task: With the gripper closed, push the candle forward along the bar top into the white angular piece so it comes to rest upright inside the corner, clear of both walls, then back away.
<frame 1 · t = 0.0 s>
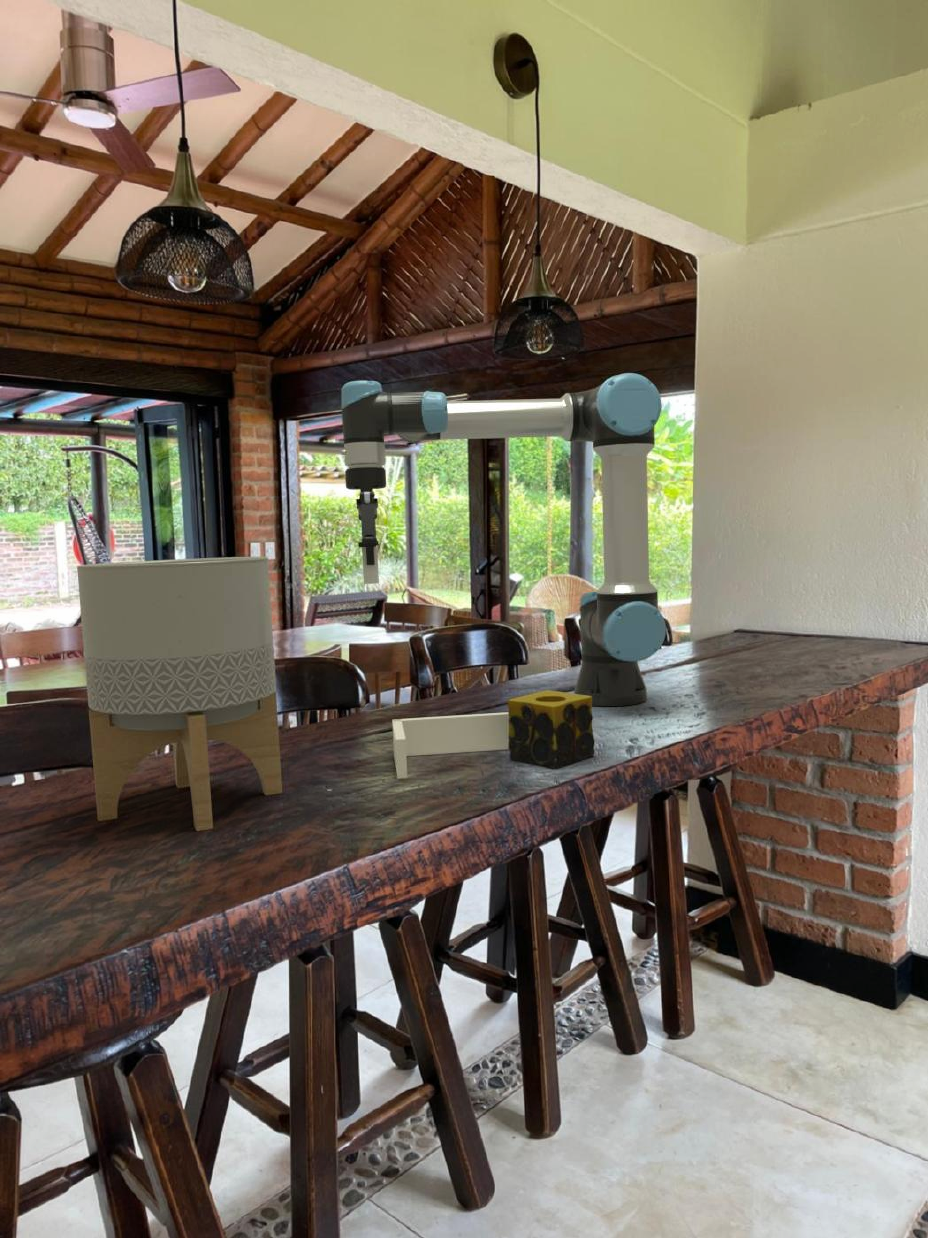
hand: (371, 581, 169), 28 cm above the bar counter, fingers open, 13 cm apart
white angular piece: (458, 761, 144), on the bar counter
planter: (193, 806, 126), on the bar counter
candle: (552, 759, 144), on the bar counter
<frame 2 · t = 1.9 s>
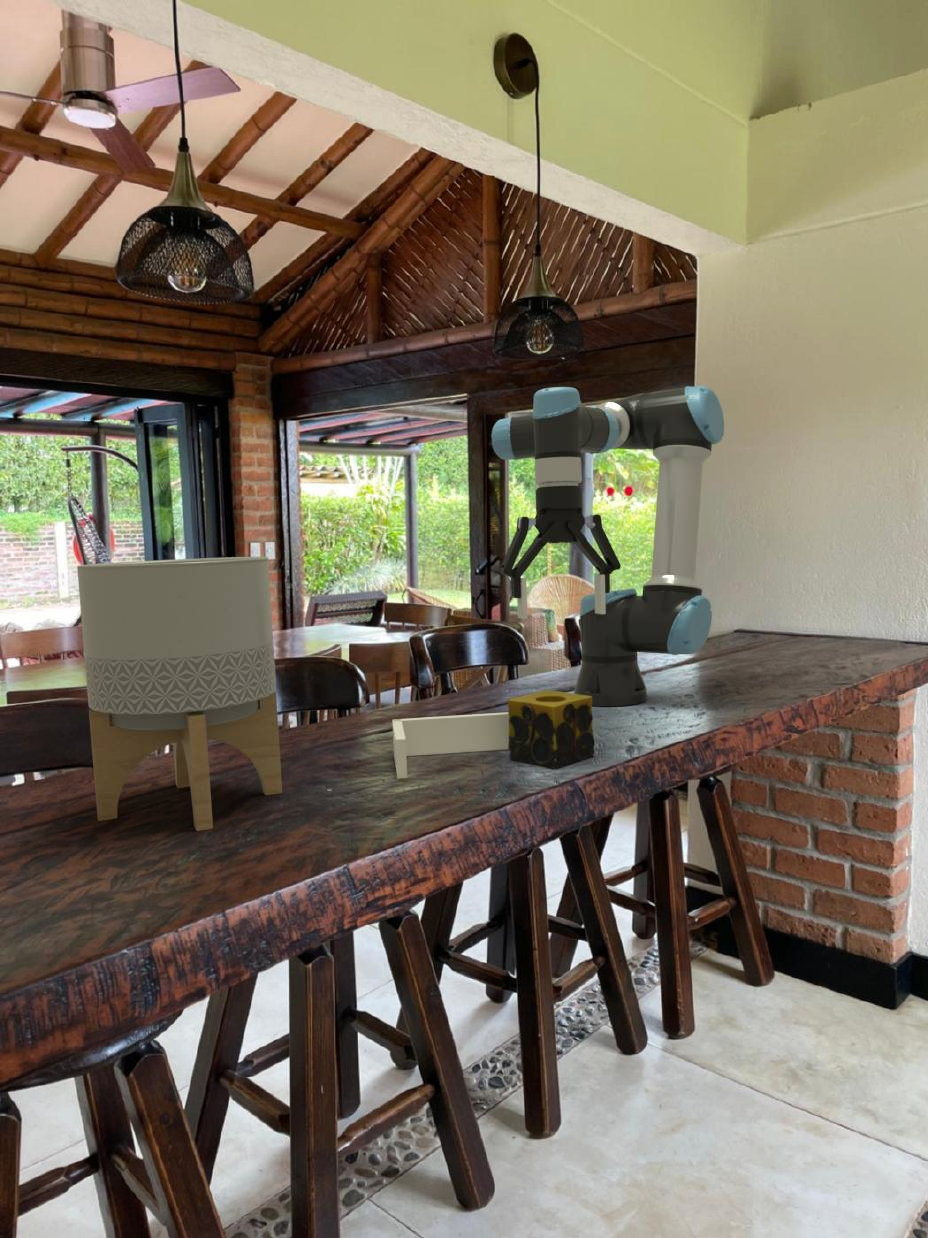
hand: (561, 616, 148), 22 cm above the bar counter, fingers open, 13 cm apart
nothing on the bar counter moved.
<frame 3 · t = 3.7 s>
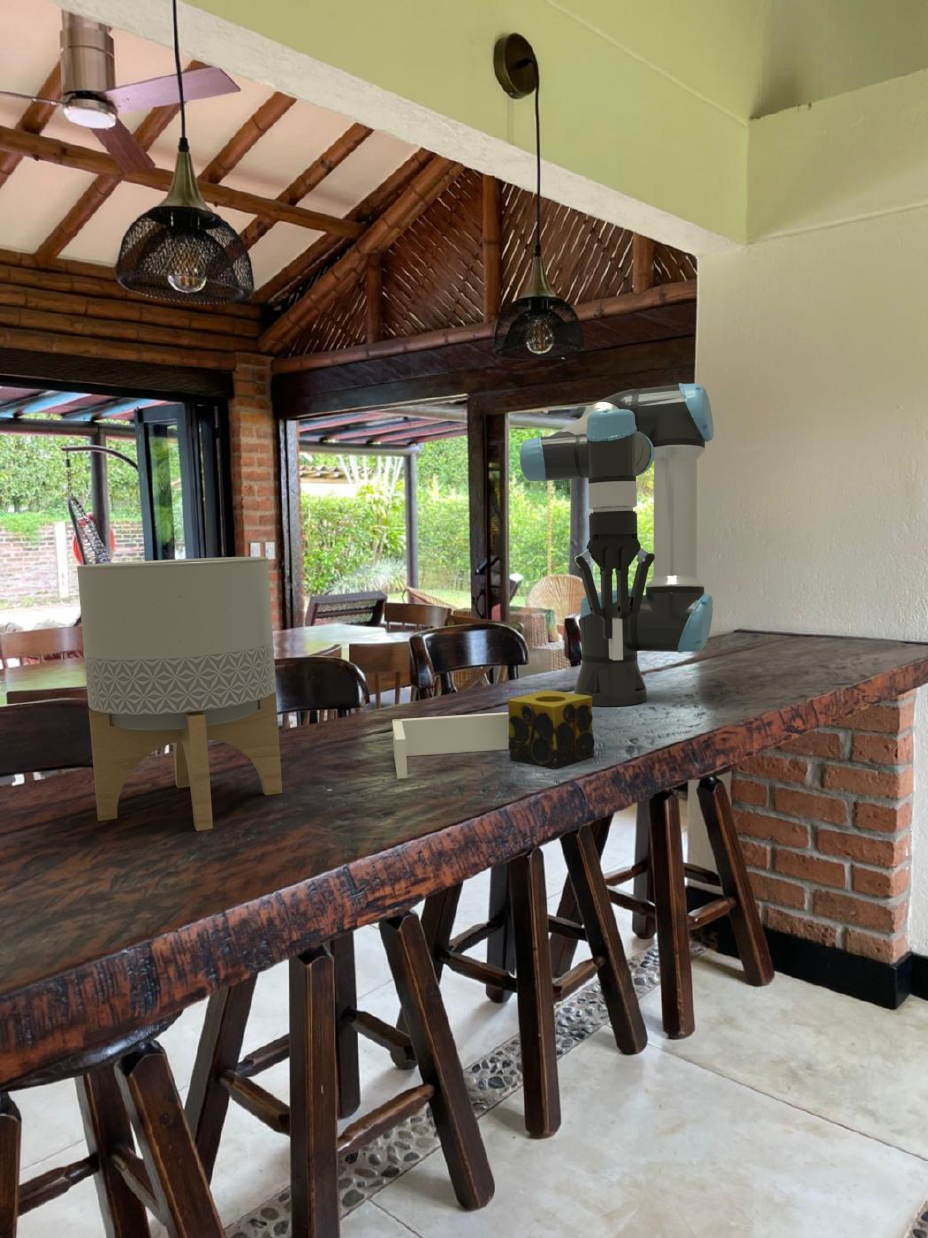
hand: (616, 658, 144), 15 cm above the bar counter, fingers closed
nothing on the bar counter moved.
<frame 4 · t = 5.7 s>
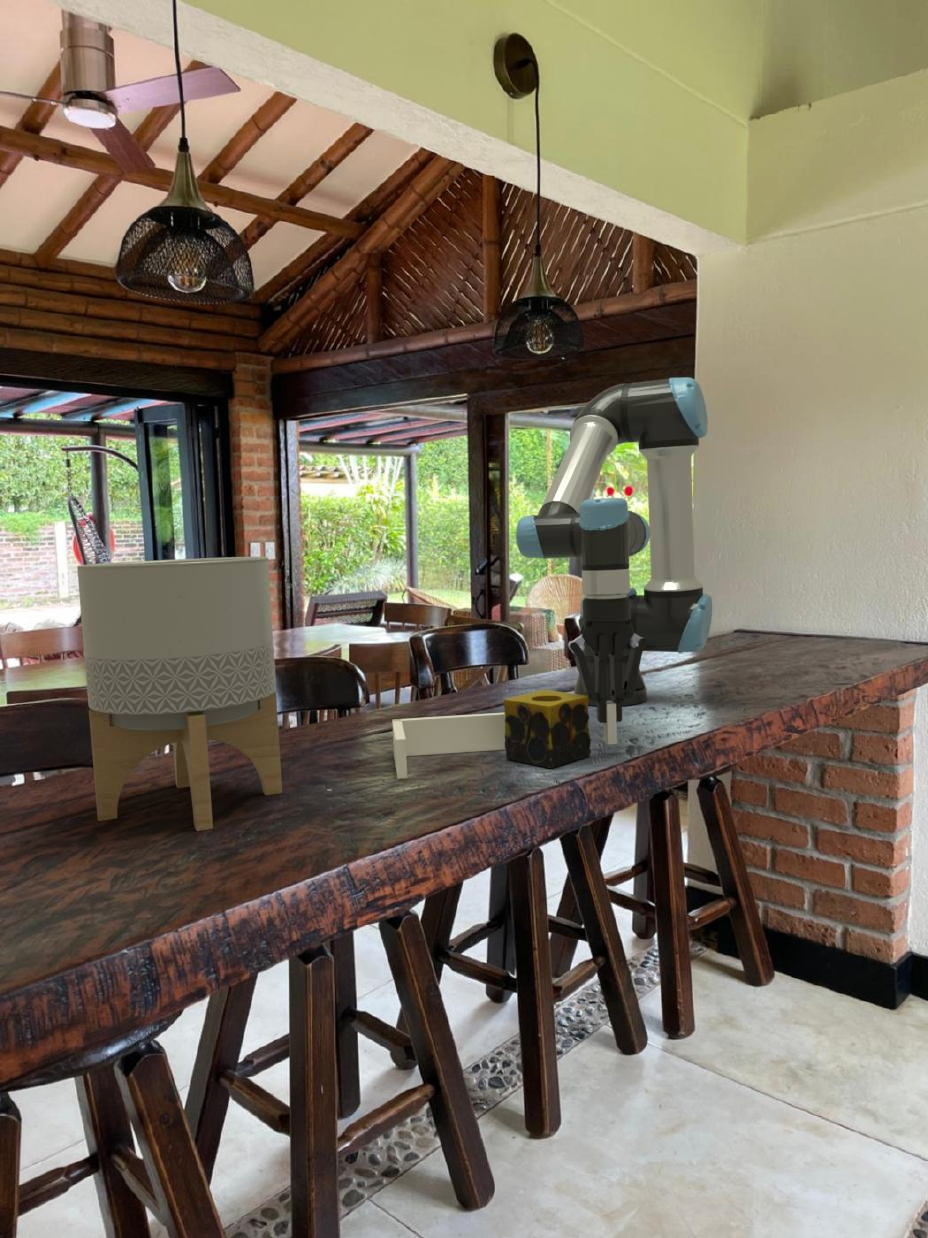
hand: (610, 742, 145), 2 cm above the bar counter, fingers closed
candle: (548, 759, 144), on the bar counter, touching hand
everything else where it was.
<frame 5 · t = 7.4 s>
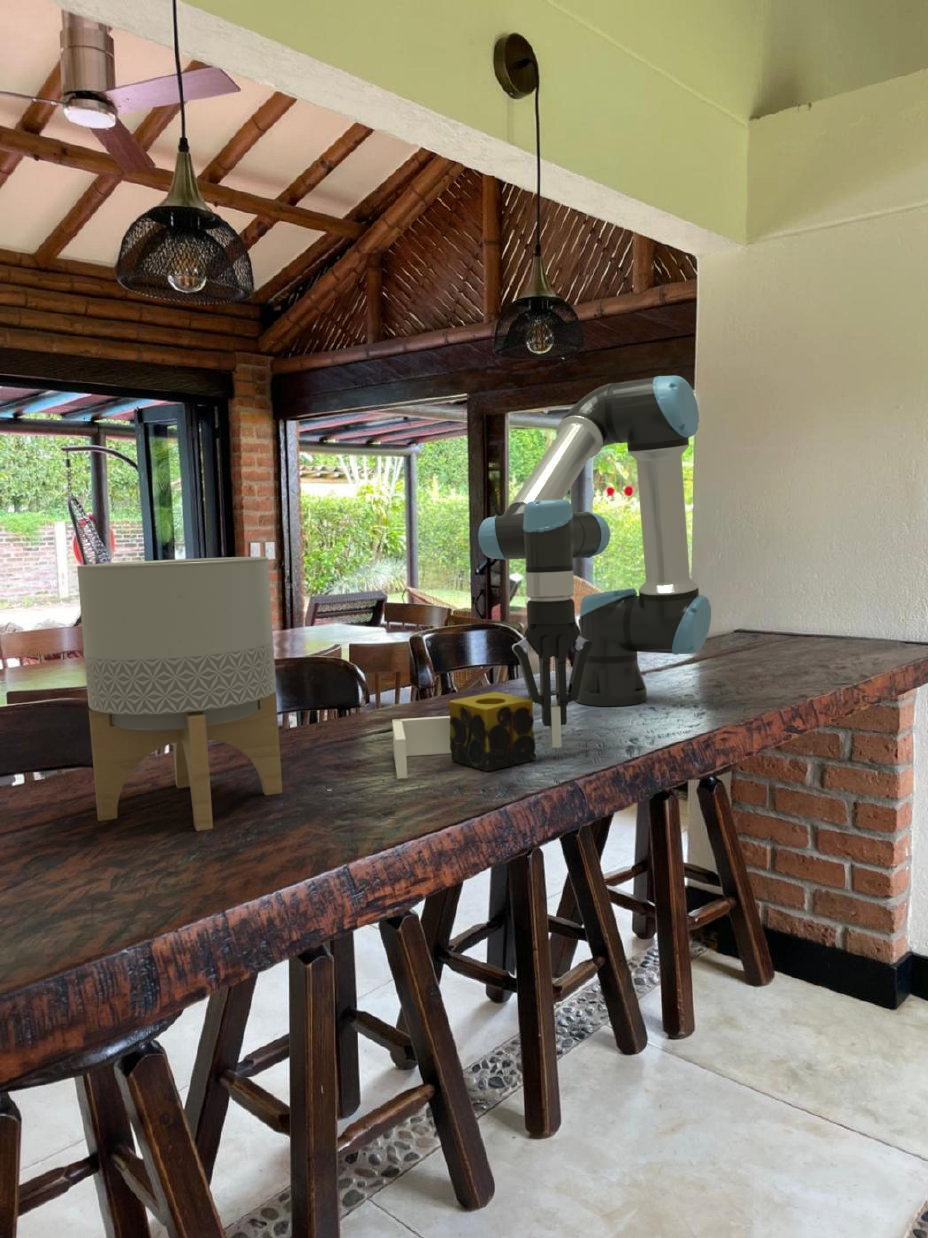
hand: (555, 745, 144), 2 cm above the bar counter, fingers closed
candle: (493, 762, 144), on the bar counter, touching hand
everything else where it was.
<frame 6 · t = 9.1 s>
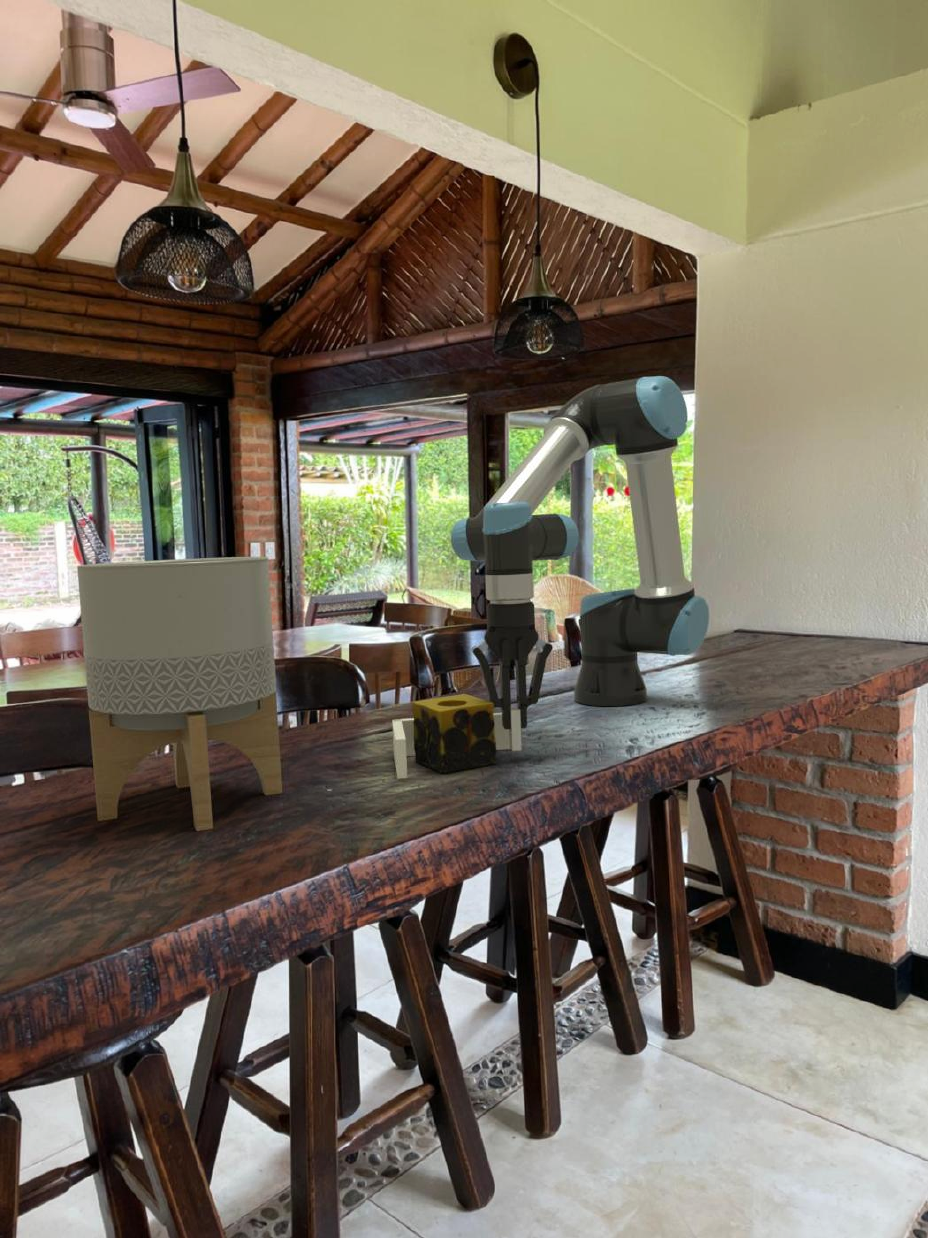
hand: (515, 748, 143), 2 cm above the bar counter, fingers closed
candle: (455, 764, 144), on the bar counter, touching hand
everything else where it was.
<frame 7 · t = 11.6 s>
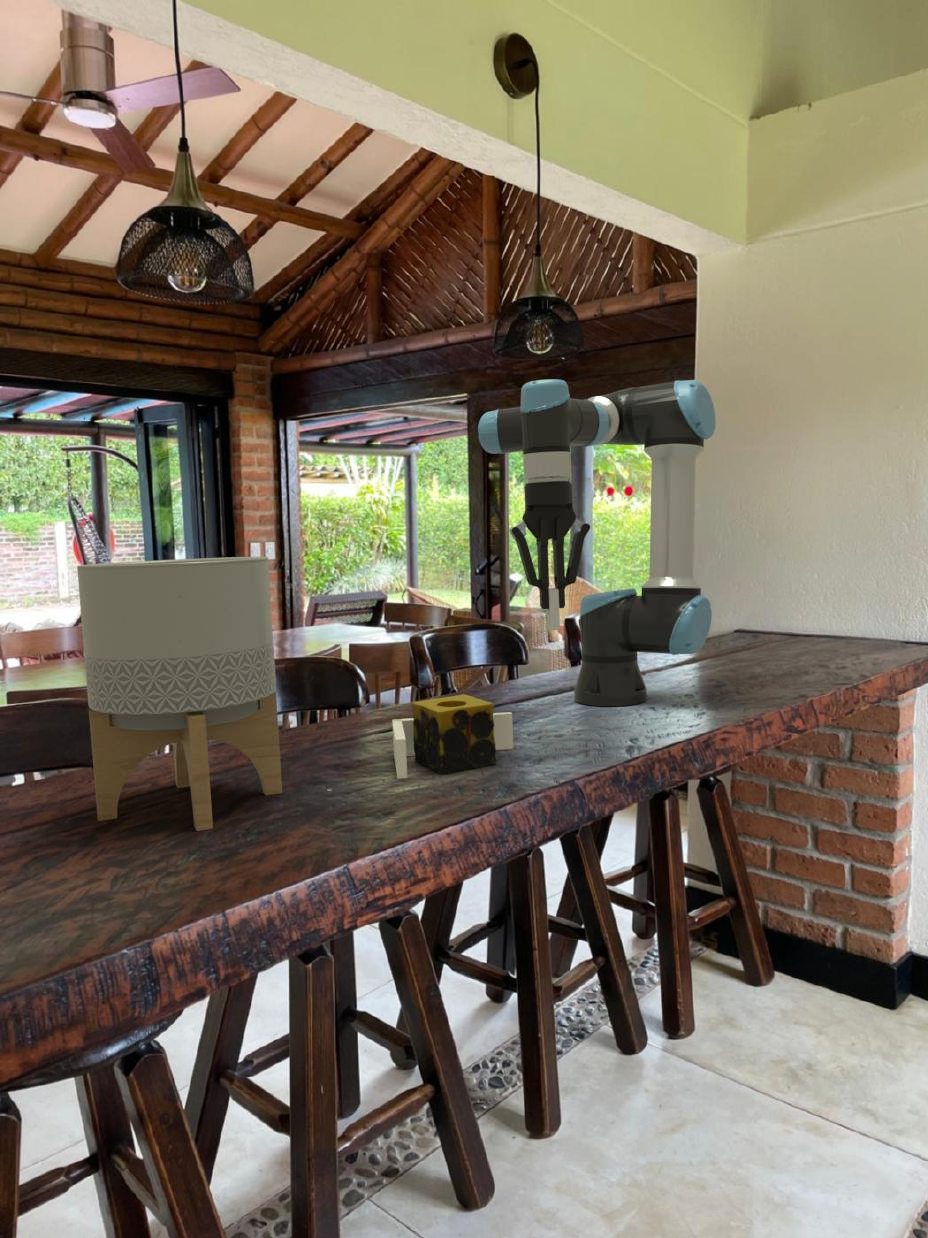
hand: (553, 629, 145), 20 cm above the bar counter, fingers closed
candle: (455, 764, 144), on the bar counter
everything else where it was.
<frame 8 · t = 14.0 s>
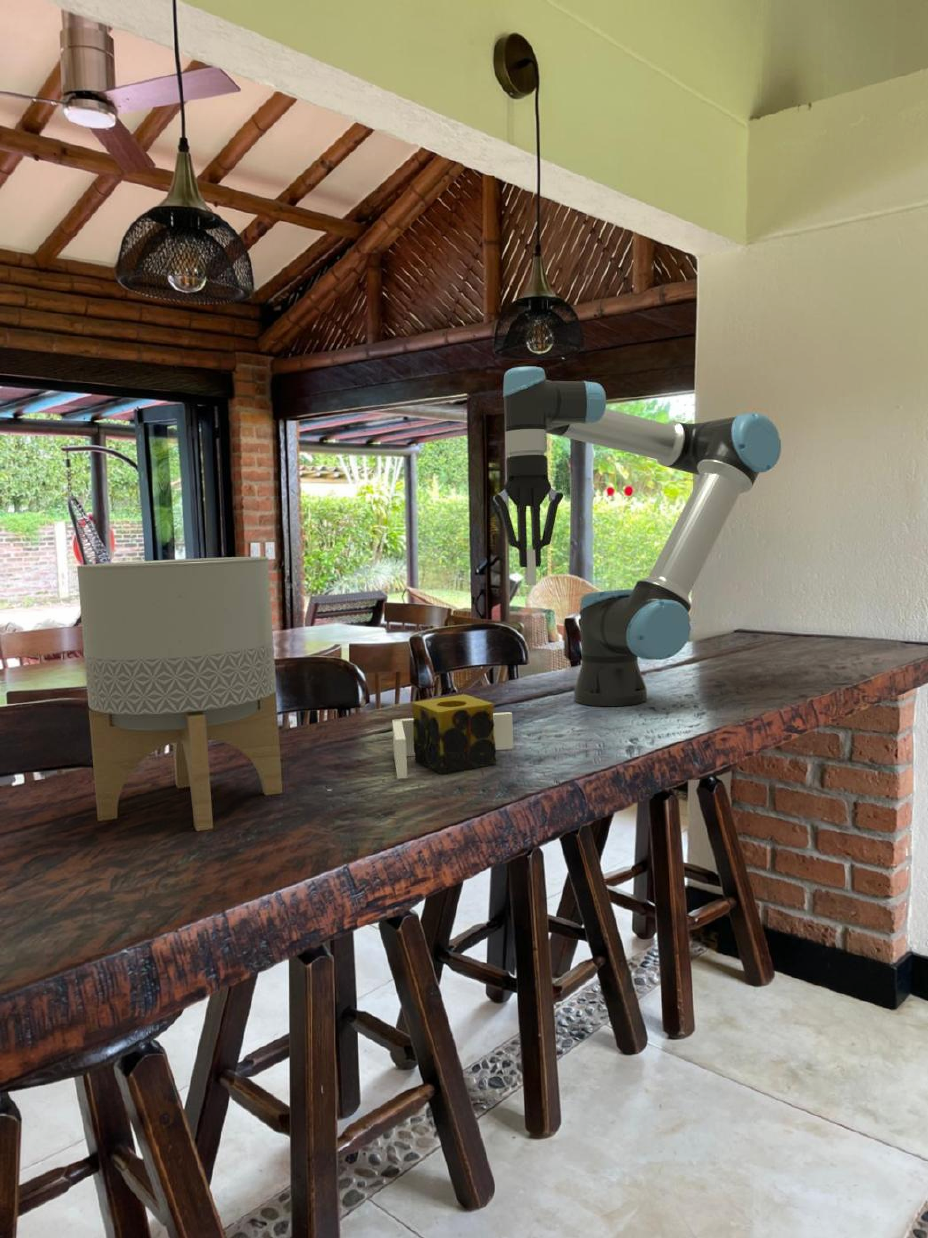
hand: (530, 584, 166), 26 cm above the bar counter, fingers closed
nothing on the bar counter moved.
at the end: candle inside the target area (0.9 cm from its centre), on the bar counter; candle tilted 0°; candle touching bar counter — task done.
